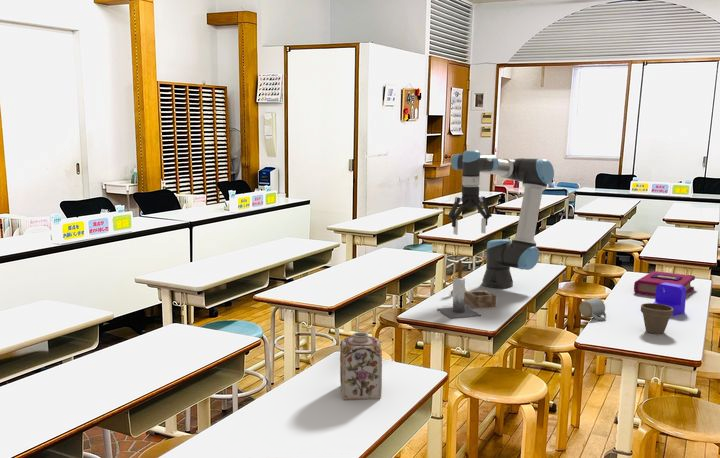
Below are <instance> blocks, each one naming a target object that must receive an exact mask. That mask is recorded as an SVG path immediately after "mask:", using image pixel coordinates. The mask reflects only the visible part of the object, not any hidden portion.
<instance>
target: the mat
mask: <svg viewBox="0 0 720 458" xmlns="http://www.w3.org/2000/svg"><path fill="white" fill-rule="evenodd" d="M436 311H438V312H439V311H440V313H441V314H442V313H443V314H442V315H444V316H445V317H447V318H449V319H460V318H472V317H473V318H474V317H481V316H482V314H481V313H479V312H478V311H476V310H474V309H472V308H470V307H468V306H466V305H465V312H463V313H455V312H453V306H452V307H451V306H450V307H442V308H439V307H438V308H436Z"/></svg>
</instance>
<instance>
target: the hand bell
mask: <svg viewBox="0 0 720 458" xmlns="http://www.w3.org/2000/svg"><path fill="white" fill-rule="evenodd" d="M456 267H457V274H458V275H457V276H458V277H457V278H462V273H463V261H462V260H461V259H458V262H457V264H456ZM467 291H468V290H467V288H466V287H465V292H467ZM450 293H451V294H452V295H453V289H452V290H450Z"/></svg>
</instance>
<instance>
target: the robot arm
mask: <svg viewBox="0 0 720 458" xmlns="http://www.w3.org/2000/svg"><path fill="white" fill-rule="evenodd" d="M498 158H499V157H497V156H496V155H495V154H481V151H480V150H464V152H463V153H455V154H454V155H453V156H452V157H451V160H450V165H451V167H452V169H454V170H456V171H462V177H461V180H462V181H461V184H462V187H461V197H459V196H458V197H457V196H456V197H455V198H454V202H453V204H452V206H451V208H450V210H449V213H448V215H447V218H448V219H450V220H451V226H452V227H453V232H452V233H453V235H456V236H457V235H458V233H459V231H458V230H459V229H458V228H459V227H458V226H459V219H458V218H459V216H460V215H461V214H462V213H463V211H464V210H465V209H466V208H475V209H476V210H477V211H478V212H479V214H480V215H481V216H482V218H481V221H480V222H481V224H480V225H481V227H480V233H481V234H486V229H487V226H488V220H489V219H490V218H492V216H493V215H492V213H491V210H490V208H489V206H488V204H487V200H486V198H487V197H485V196H483V195H482V196H480V186H479V185H480V176H481V175H480V173H482V174H488V175H496V176H499V177H501V178H503V179H507V180H512V181H515V182H520V183H522V187H523V188H524V191H523V195H522V201H521V207H520V213H519V217H518V223H517V230H516V233H515V234H516V235H515V237H513V238H512V239H510V238H509V239H508V238H503V239H492V240H489V241H487V242H486V243H487V244H486V250H485V251H486V264H485V265H486V266H485V268H486V269H485V272H484V274H483V278H482V282H481V283H482V286H484V287H488V288H492V289H493V288H494V289H495V288H496V289H506V288H507V289H508V288H511V287H513V286H514V281H513V277H512V274H511V268H514V269H519V270H526V271H527V270H529V271H530V270H533V268H535V267H536V265H537V264H538V262H539V259H540V250H539V248H537V242H536V241H535V234H536V229H537V225H538V224H537V223H538V219H539V214H540V213H539V212H540V207H541V201H542V197H543V192H544V191H545V190H546V189H547V187H548V185H550V184H551V183H552V181H553V180H554V177H555V169H554V166H553V164H552V162H551V161H550V160H548V159H544V158H524V157H523V158H522V157H521V158H503V159H498ZM461 202H462V203H461ZM479 202H481V205H482V207H483V208H482V207H481V205H480V204H479ZM460 203H461V204H460Z"/></svg>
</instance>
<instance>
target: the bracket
mask: <svg viewBox="0 0 720 458" xmlns="http://www.w3.org/2000/svg"><path fill="white" fill-rule="evenodd" d="M663 287H664V288H665V291H664V289H663ZM686 297H687V295H686V288H685V287H684V286H682V285H677V284H671V283H662V284H659V285H657V287H656V296H654V298H655V299H654V301H653V303H656V304H663V305H667V306H670V307H672V308H673V315H672V316H671V317H674V316H678V315H679V316H680V315H682V314H685V312H686V311H685V310H686V301H687V300H686V299H687V298H686Z"/></svg>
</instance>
